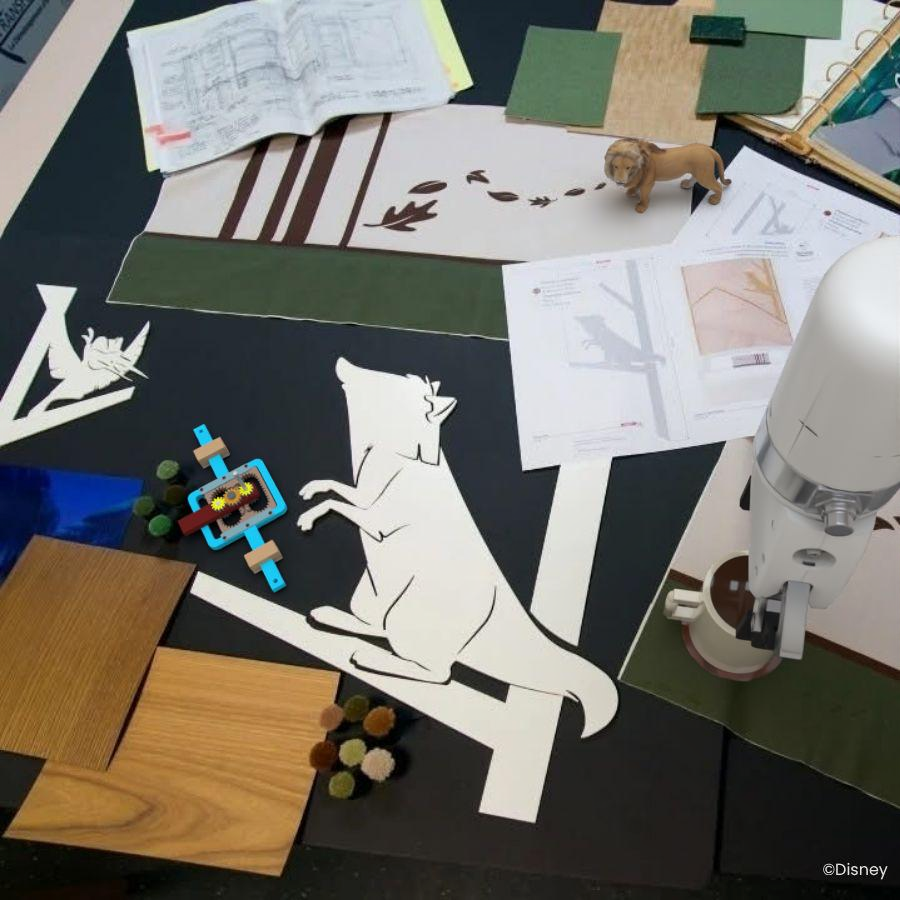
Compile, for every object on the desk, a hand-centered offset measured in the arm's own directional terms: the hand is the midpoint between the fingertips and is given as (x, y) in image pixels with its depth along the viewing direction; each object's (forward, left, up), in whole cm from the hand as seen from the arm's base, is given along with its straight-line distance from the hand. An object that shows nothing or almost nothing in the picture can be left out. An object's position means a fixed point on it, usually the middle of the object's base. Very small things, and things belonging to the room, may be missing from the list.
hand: (760, 570), depth 59 cm
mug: (+1, 0, -13) cm, 13 cm away
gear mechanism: (+46, -5, -14) cm, 48 cm away
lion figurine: (+9, -49, -14) cm, 52 cm away
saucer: (0, 0, -14) cm, 14 cm away
